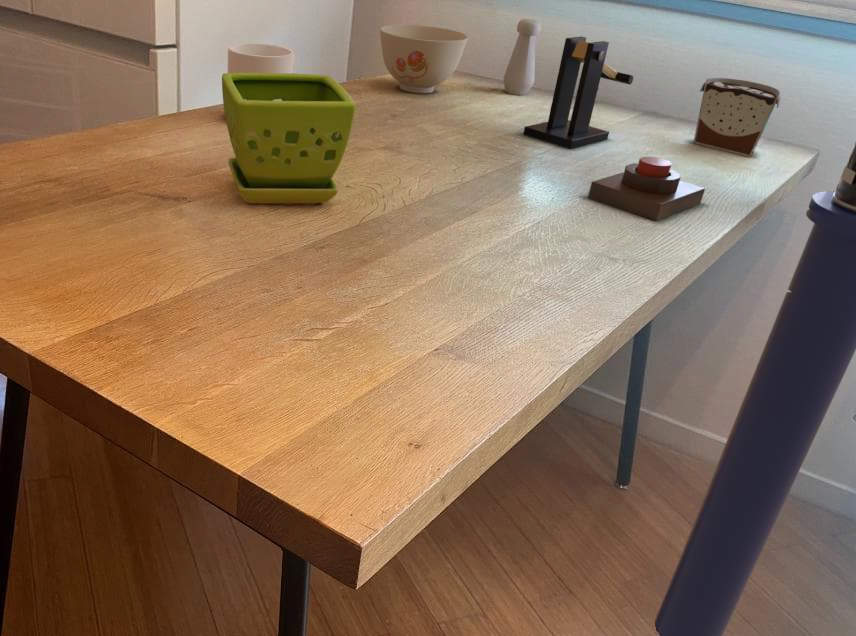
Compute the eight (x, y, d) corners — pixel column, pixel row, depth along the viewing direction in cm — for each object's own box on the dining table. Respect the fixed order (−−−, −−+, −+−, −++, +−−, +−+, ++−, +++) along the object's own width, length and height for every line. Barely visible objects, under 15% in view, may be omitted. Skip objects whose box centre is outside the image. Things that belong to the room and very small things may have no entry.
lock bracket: (560, 126, 146) (581, 32, 139) (607, 139, 141) (631, 43, 133) (522, 134, 140) (542, 36, 132) (570, 149, 134) (593, 48, 127)
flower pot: (218, 173, 111) (220, 70, 105) (323, 174, 114) (331, 74, 108) (232, 211, 100) (234, 98, 93) (348, 211, 103) (359, 102, 96)
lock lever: (597, 80, 145) (603, 66, 145) (629, 88, 142) (635, 74, 141) (561, 53, 135) (567, 38, 134) (594, 61, 131) (601, 45, 130)
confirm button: (645, 167, 115) (649, 154, 115) (673, 176, 113) (677, 163, 112) (630, 172, 113) (634, 159, 112) (658, 181, 111) (662, 167, 110)
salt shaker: (529, 97, 163) (543, 23, 156) (499, 93, 165) (512, 19, 158) (533, 91, 168) (548, 19, 161) (504, 87, 170) (517, 15, 163)
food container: (771, 152, 142) (794, 89, 137) (759, 159, 138) (782, 94, 132) (698, 135, 148) (716, 74, 143) (684, 140, 144) (703, 78, 139)
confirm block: (633, 183, 122) (641, 154, 119) (700, 204, 116) (709, 174, 114) (587, 197, 114) (594, 167, 112) (656, 221, 108) (665, 190, 106)
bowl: (357, 86, 161) (362, 28, 156) (406, 76, 172) (412, 22, 166) (428, 104, 153) (436, 44, 147) (475, 93, 163) (484, 36, 158)
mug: (262, 131, 130) (265, 59, 124) (213, 117, 134) (214, 47, 129) (313, 119, 138) (318, 50, 133) (265, 105, 143) (268, 39, 138)
